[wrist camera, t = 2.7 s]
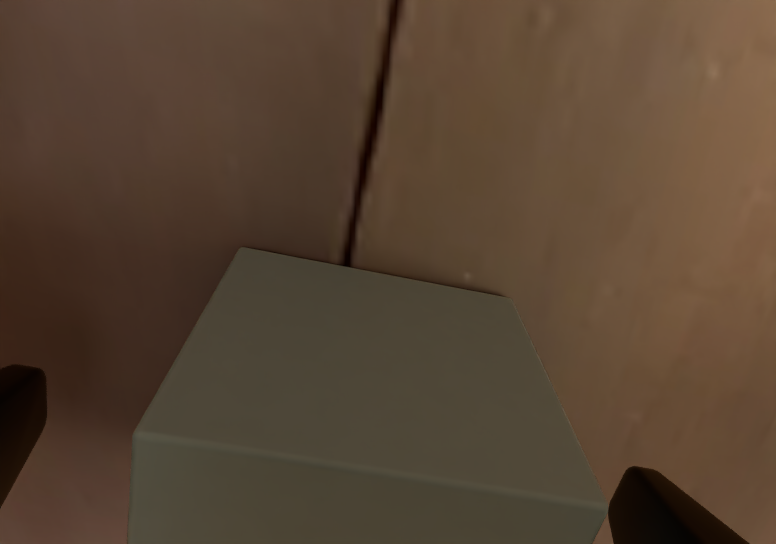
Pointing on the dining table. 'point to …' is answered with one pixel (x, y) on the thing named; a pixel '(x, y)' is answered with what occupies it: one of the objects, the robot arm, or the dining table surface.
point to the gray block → (357, 419)
